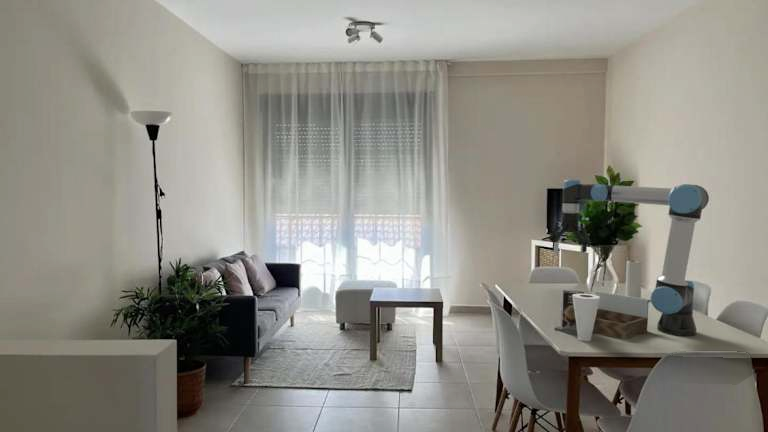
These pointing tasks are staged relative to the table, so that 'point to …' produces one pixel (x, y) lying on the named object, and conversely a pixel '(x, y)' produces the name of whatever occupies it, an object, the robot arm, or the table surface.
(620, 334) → the wooden tray
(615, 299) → the lid
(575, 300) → the cup
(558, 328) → the slate mat
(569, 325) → the coffee box
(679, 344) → the table surface
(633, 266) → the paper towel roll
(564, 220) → the robot arm
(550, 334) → the table surface
